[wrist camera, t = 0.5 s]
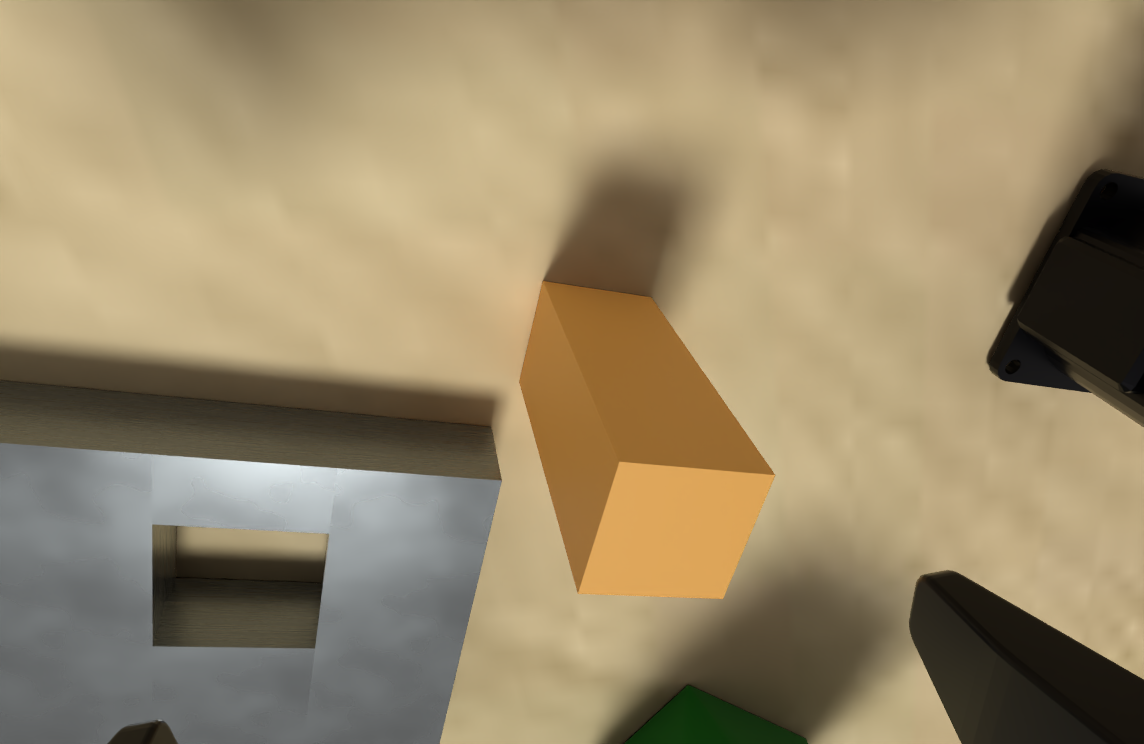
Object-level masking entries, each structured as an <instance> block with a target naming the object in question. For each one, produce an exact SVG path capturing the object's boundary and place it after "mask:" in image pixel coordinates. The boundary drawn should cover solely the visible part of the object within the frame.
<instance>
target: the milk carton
mask: <svg viewBox="0 0 1144 744" xmlns="http://www.w3.org/2000/svg"><path fill="white" fill-rule="evenodd" d="M624 744H808V742H807V740H806V739H805V738H804V737H801V736H799V735H797V734H795V733H793V732H790V731H788V730H786V729H784V728H782V727H780V726H777V725H775V724H773V723H771V722H769V721H766V720H764V719H762V718H760V717H758V716H756V715H753V714H751V713H749V712H747V711H745V710H742V709H740V708H738V707H736V706H734V705H732V704H729V703H727V702H725V701H723V700H721V699H718V698H716V697H714V696H712V695H710V694H708V693H705V692H703V691H701V690H699V689H697V688H694V687H692V686H690V685H687V686H686V687H685V688H684V689H683V690H682V691H681V692H680V693H679V694H678V695H676V696H675V697H674V698H673V699H672V700H671V701H670V702H669V703H668V704H667V705H666V706H664V707H663V708H662V709H661V710H660V711H659V712H658V713H657V714H656V715H655V716H654V717H653V718H651V719H650V720H649V721H648V722H647V723H646V724H645V725H644V726H643V727H642V728H641V729H639V730H638V731H637V732H636V733H635V734H634V735H633V736H632V737H631V738H630V739H629V740H628V741H626V742H625V743H624Z"/></svg>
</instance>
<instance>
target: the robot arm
mask: <svg viewBox="0 0 1144 744" xmlns="http://www.w3.org/2000/svg"><path fill="white" fill-rule="evenodd" d="M1105 185H1106V187H1105V189H1104V191H1103V192H1102V193H1101V190H1102V188H1103V187H1104V186H1105ZM1100 193H1101V194H1100ZM1010 361H1011V362H1010ZM1009 362H1010V363H1009ZM1008 363H1009V365H1008V366H1006V365H1007V364H1008ZM989 367H990V371H991V372H992V373H993V374H994V375H996V376H997V377H998V378H1000V379H1001V380H1004V381H1008V382H1016V383H1023V384H1030V385H1037V386H1045V387H1052V388H1059V389H1067V390H1074V391H1081V392H1089V393H1093V394H1095V395H1096V396H1098V397H1099V398H1101V399H1102V400H1104V401H1105V402H1107V403H1108V404H1110V405H1111V406H1113V407H1114V408H1116V409H1117V410H1119V411H1120V412H1122V413H1123V414H1125V415H1126V416H1128V417H1129V418H1131V419H1132V420H1134V421H1135V422H1137V423H1138V424H1140V425H1141V426H1143V427H1144V178H1141V177H1137V176H1133V175H1129V174H1125V173H1121V172H1116V171H1112V170H1108V169H1101V170H1099V171H1096V172H1094V173H1093V174H1092V175H1091V176H1089V177H1088V179H1087V180H1086V182H1085V183H1084V185H1083V186H1082V188H1081V190H1080V192H1079V194H1078V196H1077V198H1076V200H1075V202H1074V203H1073V205H1072V207H1071V209H1070V211H1069V213H1068V215H1067V217H1066V219H1065V220H1064V222H1063V224H1062V226H1061V228H1060V230H1059V232H1058V234H1057V235H1056V237H1055V239H1054V241H1053V243H1052V245H1051V247H1050V249H1049V251H1048V252H1047V254H1046V256H1045V258H1044V260H1043V262H1042V264H1041V266H1040V268H1039V269H1038V271H1037V273H1036V275H1035V277H1034V279H1033V281H1032V283H1031V285H1030V286H1029V288H1028V290H1027V292H1026V294H1025V296H1024V298H1023V300H1022V302H1021V303H1020V305H1019V307H1018V309H1017V311H1016V313H1015V315H1014V317H1013V319H1012V320H1011V322H1010V324H1009V326H1008V328H1007V330H1006V332H1005V334H1004V336H1003V337H1002V339H1001V341H1000V343H999V345H998V347H997V349H996V351H995V353H994V354H993V356H992V358H991V361H990V364H989ZM909 628H910V633H911V637H912V639H913V642H914V644H915V646H916V648H917V650H918V653H919V655H920V657H921V659H922V661H923V663H924V665H925V667H926V669H927V672H928V674H929V676H930V678H931V680H932V682H933V684H934V686H935V688H936V691H937V693H938V695H939V697H940V699H941V701H942V703H943V705H944V708H945V710H946V712H947V714H948V716H949V718H950V720H951V722H952V724H953V727H954V729H955V731H956V733H957V735H958V737H959V739H960V741H961V743H962V744H1144V680H1143V679H1142V678H1140V677H1138V676H1136V675H1135V674H1133V673H1131V672H1130V671H1128V670H1126V669H1124V668H1123V667H1121V666H1119V665H1117V664H1116V663H1114V662H1112V661H1110V660H1109V659H1107V658H1105V657H1103V656H1102V655H1100V654H1098V653H1097V652H1095V651H1093V650H1091V649H1090V648H1088V647H1086V646H1084V645H1083V644H1081V643H1079V642H1077V641H1076V640H1074V639H1072V638H1071V637H1069V636H1067V635H1065V634H1064V633H1062V632H1060V631H1058V630H1057V629H1055V628H1053V627H1051V626H1050V625H1048V624H1046V623H1044V622H1043V621H1041V620H1039V619H1038V618H1036V617H1034V616H1032V615H1031V614H1029V613H1027V612H1025V611H1024V610H1022V609H1020V608H1018V607H1017V606H1015V605H1013V604H1011V603H1010V602H1008V601H1006V600H1005V599H1003V598H1001V597H999V596H998V595H996V594H994V593H992V592H991V591H989V590H987V589H985V588H984V587H982V586H980V585H979V584H977V583H975V582H973V581H972V580H970V579H968V578H966V577H965V576H963V575H961V574H959V573H957V572H954V571H950V570H946V571H940V572H935V573H929V574H924V575H922V576H920V578H919V579H918V580H917V582H916V587H915V592H914V597H913V603H912V608H911V613H910V619H909ZM107 744H178V742H177V740H176V739H175V737H174V735H173V733H172V731H171V729H170V727H169V726H168V724H167V723H166V722H165V721H163V720H161V719H155V720H150V721H145V722H139V723H134V724H130V725H127V726H125V727H123V728H122V729H121V730H119V731H118V732H117V733H116V734H115V735H114V736H113V738H112V739H111V740H110V741H109V742H108V743H107Z"/></svg>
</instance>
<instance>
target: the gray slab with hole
mask: <svg viewBox="0 0 1144 744" xmlns="http://www.w3.org/2000/svg"><path fill="white" fill-rule="evenodd" d="M501 482H502V479H501V474H500V469H499V464H498V459H497V454H496V449H495V444H494V439H493V434H492V428H491V427H487V426H476V425H465V424H455V423H444V422H434V421H423V420H412V419H402V418H391V417H381V416H370V415H359V414H349V413H338V412H328V411H317V410H306V409H296V408H285V407H275V406H264V405H254V404H243V403H232V402H222V401H211V400H201V399H190V398H179V397H169V396H158V395H148V394H137V393H126V392H116V391H105V390H95V389H84V388H73V387H63V386H52V385H42V384H31V383H21V382H10V381H0V744H107V743H108V742H109V741H110V740H111V739H112V738H113V736H114V735H115V734H116V733H117V732H118V731H119V730H121V729H122V728H123V727H125V726H127V725H130V724H134V723H139V722H145V721H150V720H155V719H161V720H163V721H165V722H166V723H167V724H168V726H169V727H170V729H171V731H172V733H173V735H174V737H175V739H176V740H177V742H178V744H439V743H440V739H441V735H442V730H443V726H444V722H445V718H446V713H447V709H448V705H449V701H450V697H451V692H452V688H453V684H454V680H455V676H456V671H457V667H458V663H459V659H460V654H461V650H462V646H463V642H464V638H465V633H466V629H467V625H468V621H469V617H470V612H471V608H472V604H473V600H474V596H475V591H476V587H477V583H478V579H479V574H480V570H481V566H482V562H483V558H484V553H485V549H486V545H487V541H488V537H489V532H490V528H491V524H492V520H493V515H494V511H495V507H496V503H497V499H498V494H499V490H500V486H501ZM176 526H192V527H211V528H230V529H249V530H268V531H287V532H306V533H325V534H328V540H327V548H326V556H325V564H324V572H323V581H322V583H308V582H280V581H252V580H224V579H196V578H176Z"/></svg>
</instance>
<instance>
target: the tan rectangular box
mask: <svg viewBox="0 0 1144 744" xmlns="http://www.w3.org/2000/svg"><path fill="white" fill-rule="evenodd" d="M519 383H520V386H521V390H522V394H523V397H524V401H525V404H526V408H527V412H528V415H529V419H530V422H531V426H532V430H533V433H534V437H535V440H536V444H537V448H538V451H539V455H540V459H541V462H542V466H543V469H544V473H545V477H546V480H547V484H548V487H549V491H550V495H551V498H552V502H553V505H554V509H555V513H556V516H557V520H558V523H559V527H560V531H561V534H562V538H563V542H564V545H565V549H566V552H567V556H568V560H569V563H570V567H571V570H572V574H573V578H574V581H575V585H576V588H577V592H578V594H600V595H628V596H657V597H685V598H713V599H723V597H724V595H725V593H726V590H727V588H728V586H729V583H730V581H731V579H732V576H733V574H734V572H735V569H736V567H737V564H738V562H739V560H740V557H741V555H742V553H743V550H744V548H745V546H746V543H747V541H748V538H749V536H750V534H751V531H752V529H753V527H754V524H755V522H756V520H757V517H758V515H759V513H760V510H761V508H762V505H763V503H764V501H765V498H766V496H767V494H768V491H769V489H770V487H771V484H772V482H773V480H774V477H775V474H774V473H773V471H772V470H771V468H770V467H769V465H768V464H767V463H766V461H765V460H764V458H763V457H762V455H761V454H760V453H759V451H758V450H757V448H756V447H755V445H754V444H753V442H752V441H751V440H750V438H749V437H748V435H747V434H746V432H745V431H744V430H743V428H742V427H741V425H740V424H739V422H738V421H737V420H736V418H735V417H734V415H733V414H732V412H731V411H730V410H729V408H728V407H727V405H726V404H725V402H724V401H723V400H722V398H721V397H720V395H719V394H718V392H717V391H716V389H715V388H714V387H713V385H712V384H711V382H710V381H709V379H708V378H707V377H706V375H705V374H704V372H703V371H702V369H701V368H700V367H699V365H698V364H697V362H696V361H695V359H694V358H693V357H692V355H691V354H690V352H689V351H688V349H687V348H686V346H685V345H684V344H683V342H682V341H681V339H680V338H679V336H678V335H677V334H676V332H675V331H674V329H673V328H672V326H671V325H670V324H669V322H668V321H667V319H666V318H665V316H664V315H663V314H662V312H661V311H660V309H659V308H658V306H657V305H656V303H655V302H654V301H653V299H652V298H651V297H646V296H639V295H633V294H626V293H620V292H613V291H606V290H600V289H593V288H586V287H580V286H573V285H566V284H560V283H553V282H546V281H543V283H542V287H541V291H540V295H539V300H538V304H537V308H536V313H535V317H534V321H533V325H532V330H531V334H530V338H529V343H528V347H527V351H526V355H525V360H524V364H523V368H522V373H521V377H520V381H519Z"/></svg>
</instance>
